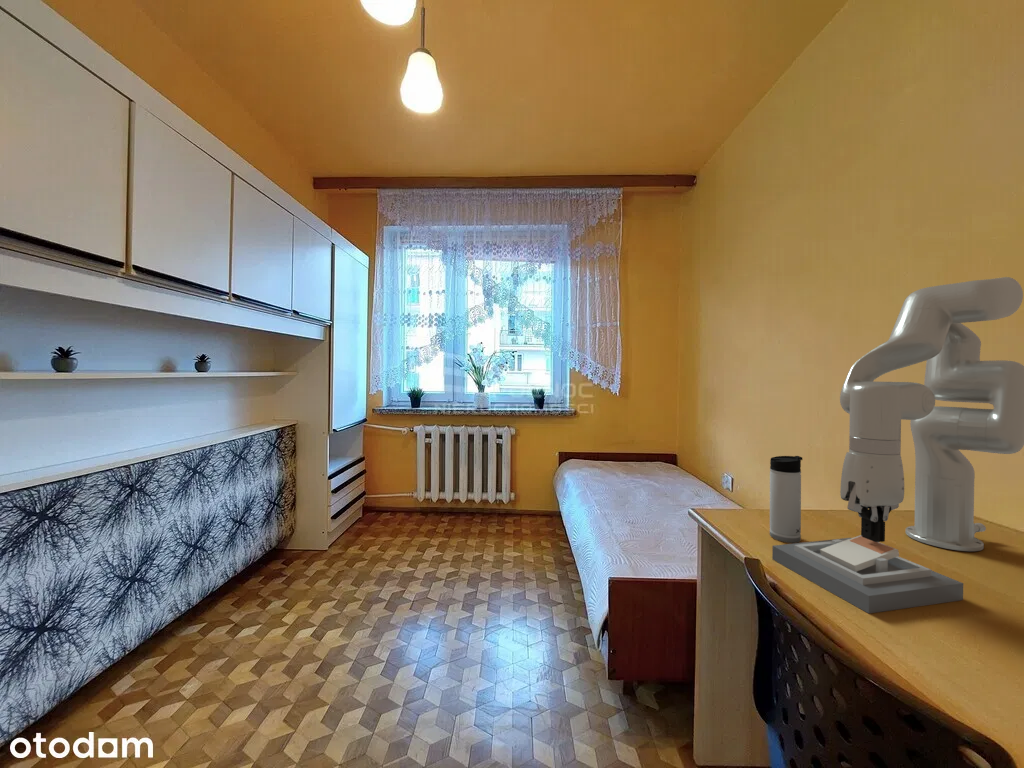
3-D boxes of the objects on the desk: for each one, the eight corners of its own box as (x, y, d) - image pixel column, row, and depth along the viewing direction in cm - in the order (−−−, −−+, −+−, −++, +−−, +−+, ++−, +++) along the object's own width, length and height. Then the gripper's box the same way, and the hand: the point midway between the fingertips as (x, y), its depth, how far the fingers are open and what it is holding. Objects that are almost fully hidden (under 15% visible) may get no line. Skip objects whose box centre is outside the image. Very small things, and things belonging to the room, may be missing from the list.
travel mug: (807, 544, 95) (808, 459, 94) (776, 542, 96) (776, 458, 96) (794, 533, 101) (795, 453, 100) (765, 531, 102) (765, 453, 102)
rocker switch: (861, 540, 84) (860, 534, 84) (899, 555, 77) (898, 549, 77) (820, 555, 82) (819, 548, 82) (855, 571, 75) (854, 565, 75)
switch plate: (850, 550, 91) (850, 526, 91) (963, 599, 71) (963, 568, 71) (772, 559, 88) (772, 533, 87) (868, 613, 68) (868, 580, 68)
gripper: (884, 442, 84) (883, 529, 85) (823, 444, 82) (822, 534, 82) (927, 448, 77) (925, 544, 77) (861, 451, 74) (860, 550, 75)
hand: (872, 539), depth 80 cm, fingers closed
